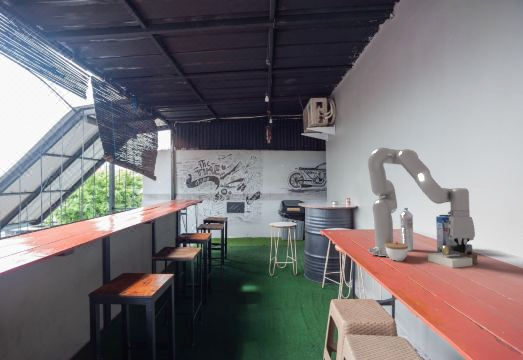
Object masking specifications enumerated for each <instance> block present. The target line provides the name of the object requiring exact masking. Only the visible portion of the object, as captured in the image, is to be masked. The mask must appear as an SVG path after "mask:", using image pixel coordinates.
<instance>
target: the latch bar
mask: <svg viewBox="0 0 523 360" xmlns="http://www.w3.org/2000/svg"><path fill="white" fill-rule="evenodd" d="M472 253H473V245H472V244H471V243H467V244H466V251H465V253H460V252H458V250H457V245H442V254H443V255H455V254H457V255H459V254H472Z"/></svg>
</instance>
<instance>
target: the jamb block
mask: <svg viewBox="0 0 523 360" xmlns="http://www.w3.org/2000/svg"><path fill="white" fill-rule="evenodd" d="M458 255H462V256H466V257H470V258H472V266H473V265H478V254H476V253H473V252H472V254H458Z"/></svg>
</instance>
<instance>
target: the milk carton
mask: <svg viewBox="0 0 523 360" xmlns="http://www.w3.org/2000/svg"><path fill="white" fill-rule="evenodd" d="M435 217H436V219H435V220H436V221H435V223H436V225H435V226H436V245H437V247H436V249H437V251H438V253H440V252H442V245H457V243H456V242H455V241H453V240H449V239H448V238H449V235H448V222H449V217H451V216H439V215H438V216H435ZM460 239H461V238H460Z"/></svg>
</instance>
